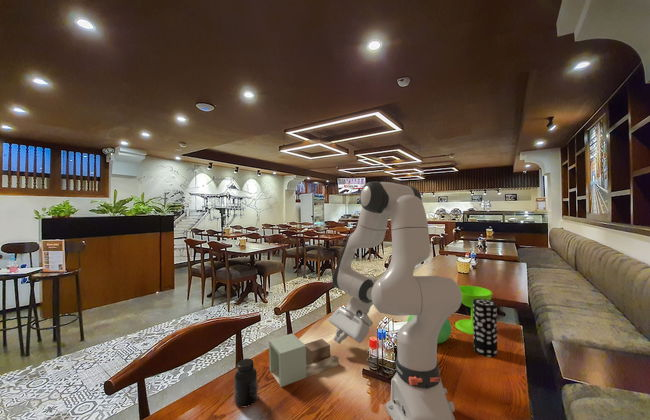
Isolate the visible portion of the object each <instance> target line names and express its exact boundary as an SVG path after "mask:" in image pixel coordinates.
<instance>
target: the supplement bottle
mask: <svg viewBox="0 0 650 420" xmlns="http://www.w3.org/2000/svg"><path fill="white" fill-rule="evenodd" d="M236 368H237V369H236V372H235V373H234V380H233V381H234V403H235V404H236V406H238V405H239V406H238V407H240V406H247V407H249V406H248V405H250V406H251V404H252V403H253V404H254V403H255V402H256V401H257V400H258V371H257V368H255V367H254V360H253V359H252V358H243V359H240V360H239V361H238V363H237V367H236ZM253 404H252V405H253Z"/></svg>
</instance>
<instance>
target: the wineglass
mask: <svg viewBox="0 0 650 420" xmlns="http://www.w3.org/2000/svg"><path fill="white" fill-rule="evenodd" d="M458 286H459V288H460V290H461V293H462V302H461V305H464V306H466V307H468V308H470V318H469V319H468V318H465V319H459V320H458V321H456V322H455V324H454V327H455V328H456V329H458V330H459V331H460V332H462V333H465V334H468V335H471V336H473V300H474V299H487V300H491V299H492V296H493V292H492V291H491V290H490V289H488V288H486V287H481V286H477V285H476V286H474V285H458ZM491 301H492V300H491Z"/></svg>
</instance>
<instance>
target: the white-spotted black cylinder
mask: <svg viewBox="0 0 650 420" xmlns="http://www.w3.org/2000/svg"><path fill="white" fill-rule="evenodd" d="M472 336H473V351H474V353H476V354H478V355H480V356H482V357H487V358H494V357H496V356H498V304H497V302H496V301H493V300H487V299H474V300H473V335H472Z"/></svg>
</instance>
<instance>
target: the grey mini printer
mask: <svg viewBox="0 0 650 420" xmlns="http://www.w3.org/2000/svg"><path fill="white" fill-rule="evenodd" d="M339 363H340V362H339V356H338V355H337V354H336V355H332V356H330V358H327V359H324V360H321V361H319V362H316V363H313V364H310V365H308V366H307V365H306V375H307V377H306V378H308V377H312V376H314V375H316V374H319V373H321V372H323V371H327V370H329V369H332V368H335V367H337V366H339ZM270 374H271V375H272V376H273V377H274V379H275V380H276V382H277V383H278V384H279V370H277V371H274V372H270ZM303 379H305V378H303ZM303 379H302V380H303ZM296 382H297V381H295V382H294V383H296ZM290 384H292V383H290ZM290 384H289V385H290ZM282 387H284V386H282ZM282 387H281V388H282Z"/></svg>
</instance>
